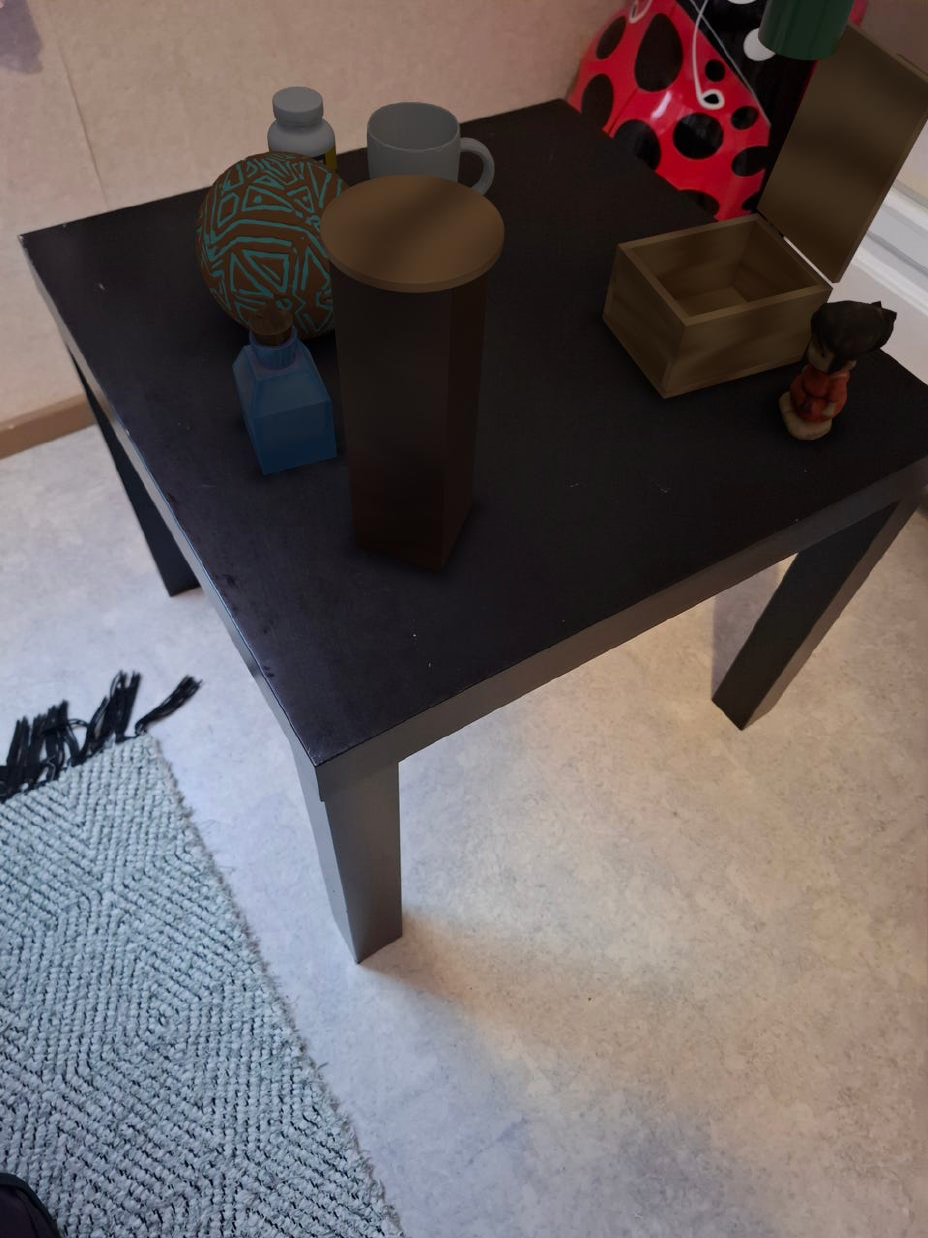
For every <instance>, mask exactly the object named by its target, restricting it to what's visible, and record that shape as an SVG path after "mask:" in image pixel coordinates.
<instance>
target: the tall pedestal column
mask: <svg viewBox="0 0 928 1238" xmlns="http://www.w3.org/2000/svg"><path fill="white" fill-rule="evenodd" d="M349 187H350V188H348V189H346V190H345V191H343V192H342V193H340V194H339V195H338V196H336V197H335V198H334V199H333V200H332V201H331V202H330V203H329V204H328V206H327V207H326V209H325V210H324V212H323V215H322V217H321V221H320V237H321V243H322V247H323V250H324V252H325V253H326V255H327V257H328V260H329V271H330V281H331V292H332V302H333V313H334V323H335V329H334V331H335V341H336V342H335V343H336V353H337V364H338V373H339V384H340V394H341V395H340V396H341V403H342V404H341V405H342V406H341V407H342V415H343V416H342V417H343V426H344V438H345V447H346V458H347V467H348V478H349V489H350V501H351V510H352V511H351V512H352V520H353V521H352V522H353V531H354V541H355V547H356V548H359V549H362V550H365V551H368V552H372V553H374V554H377V555H378V554H379V555H381V556H384V557H388V558H390V559H394V560H397V561H400V562H403V563H407V564H410V565H414V566H417V567H420V568H423V569H427V570H430V571H433V572H437V573H439V574H441V573H443V570H444V568H445V565H446V563H447V561H448V559H449V556H450V554H451V552H452V550H453V547H454V545H455V543H456V542H457V538H458V537H459V534H460V532H461V530H462V528H463V526H464V523H465V521H466V519H467V517H468V514H469V512H470V510H471V508H472V497H473V496H472V495H473V481H474V471H475V469H474V468H475V455H476V454H475V453H476V441H477V429H478V418H479V417H478V415H479V404H480V402H479V401H480V390H481V376H482V366H483V365H482V362H483V351H484V349H483V348H484V337H485V324H486V323H485V322H486V310H487V298H488V284H489V272H490V271H489V270H490V269H491V268H492V267H493V266H494V265H495V264H496V262H497V261H498V259H499V258H500V256H501V254H502V252H503V248H504V244H505V225H504V219H503V217H502V216H501V213H500V211H499V210H498V209H497V207H496V206H495V205H494V204H493V203H492V202H491V201H490V200H489V199H488V198H486V196H485V195H484V196H483V195H481V194H480V193H478V192H476V191H475V190H473V189H471V187H469V186H467V185H465V184H462V183H460V182H458V181H457V182H454V181H451V180H447V179H443V178H438V177H433V176H425V175H393V176H385V177H379V178H375V179H371V180H370V179H368V180H365V181H362V182H359V183H356V184H354V185H352V186H349Z"/></svg>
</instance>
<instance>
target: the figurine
mask: <svg viewBox="0 0 928 1238" xmlns="http://www.w3.org/2000/svg"><path fill="white" fill-rule="evenodd" d="M897 316H898V312H897V311H894V310H892V309H890V308H885V307H883V304H882V301H881V300H877V301H872V302H871V303H869V302H864V301H857V300H851V299H845V300H838V301H832V302H831V301H830V302H827V303H823V304H822V305H821V306H820V308H819V309H818V310H817V311H816V312H815V313H813V315H812V318H811V320H810V322H811V333H812V337H811V339H810V341H809V343H808V348H807V352H806V358H807V360H808V364H806V365H805V366H803V367H802V370H801V373H800V374H799V375H797V376H795V378H794V379H793V380H792V382H791V383H790V385H789V391H787V392H784V393H783V394H782V395H781V396H780V397H779V398H778V407H779V411H780V414H781V418H782V421H783V423H784V426H785V427H786V430H787V432H788V434H789V435H790V436H791V437H792V438H793V439H796V440H797V439H798V440H799V441H801V440H802V441H814V440H817V439H820V438H822V437H824V435H826V434H828V433H829V432H831V429H832V424H833V423H832V421H833V418H835V417H836V416H837V415H838V414H839V413H840V412H841V411H843V409H844V406H845V405H846V402H847V399H848V393H847V391H848V390H847V389H848V388H847V383H848V381H849V380H850V378H851V377H850V370H852V369H854V367H855V366H856V364H857V361H858V360H859V359H860V358H862V356H864V355H865V354H869V353H873V352H875V351H878V350H880V349H882V348H883V347H884V346H885V345H887V344H888V341H889V340H890V338H891V336H892V334H893V332H894V330H895V322H896V320H897Z"/></svg>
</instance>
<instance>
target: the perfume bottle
mask: <svg viewBox="0 0 928 1238" xmlns="http://www.w3.org/2000/svg"><path fill="white" fill-rule="evenodd" d="M292 321H293V320H292V316H291V314H290V313H289V312H288V311H286V310H285V309H282V308H279V307H264V308H261V309H258V310H256V311H255V312H253V313H252V314H251V316H250V317H249V320H248V323H249V326H250V329H251V330H249V333H248V338H249V344H248V345H244V346H243V347H242V348H241V351H240V352H239V353H238V356H237V357H236V359H235V360H234V362H233V363H232V365H231V367H232V372H233V376H234V382H235V386H236V391H237V396H238V399H239V403H240V408H241V413H242V416H243V421H244V426H245V428H246V431H247V434H248V436H249V439H250V442H251V444H252V447H253V450H254V453H255V455H256V458H257V461H258V463H259V466H260V469H261V472H262V474H263V476H266V475H269V474H273V473H278V472H281V471H287V470H290V469H294V468H297V467H302V466H306V465H309V464H314V463H318V462H321V461H325V460H329V459H333V458H338V454H337V453H338V452H337V444H336V433H335V425H334V417H333V416H334V415H333V406H332V399H331V397H330V395H329V392H328V390H327V388H326V386H325V384H324V381H323V378H322V377H321V374H320V371H319V370H318V368H317V365H316V364H315V361H314V358H313V356H312V354H311V352H310V350H309V348H308V347H307V346H306V345H305V343H303V342H302V340H299V339H298V338H297V334H296V329H295V328H294V327H293V325H292Z"/></svg>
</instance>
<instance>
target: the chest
mask: <svg viewBox="0 0 928 1238" xmlns="http://www.w3.org/2000/svg"><path fill="white" fill-rule="evenodd" d="M615 249H616V250H615V255H614V260H613V264H612V269H611V273H610V280H609V282H608V288H607V292H606V298H605V301H604V302H605V303H604V306H603V312H602V318H601V319H602V321H603V322H604V323H605V324H606V326H607V327H608V329H609V330H610V331H611V333H612V334H613V335H614V336H615V338H616V339H617V340H618V342H619V343H620V344H621V345H622V347H623V348H624V349H625V351H626V352H627V353H628V355H629V356H630V357H631V358H632V360H633V361H634V362H635V364H636V365H637V367H638V368H639V369H640V370H641V372H642V373H643V374H644V376H645V377H646V378H647V380H648V381H649V382H650V383H651V385H652V386H653V387H654V389H655V390H656V391H657V393H658V394H659V395H660V397H662V399H663V400H666V399H669V398H672V397H676V396H680V395H684V394H688V393H690V392H695V391H697V390H701V389H705V388H708V387H711V386H715V385H719V384H723V383H727V382H730V381H733V380H737V379H741V378H745V377H748V376H752V375H756V374H759V373H763V372H765V371H770V370H774V369H778V368H781V367H784V366H787V365H790V364H795V363H799V362H801V360H802V358H803V356H804V354H805V352H806V350H807V349H808V348H807V347H808V346H809V344H810V342H811V340H812V338H813V336H812V333H811V322H810V320H811V318H812V315H813V313H815V312H816V311H817V310H818V309H819V308H820V306H821V305H822V304H823V303H829V302H828V301H829V299H830V297H831V295H832V293H833V291H834V287H833V286H832V285H831V284H830V283H829V282H828V281H827V280H826V279H825V278H824V277H823V276H822V274H820V273H819V272H818V271H816V269H814V267H813V266H812V265H811V264H810V262H809V263H808V261H807V260H806V259H805V257H803V256H802V255H801V254H800V253H799V252H798V251H797V250H796V249H795V248H794V247H792V245H791V244H789V243H788V241H787V240H785V238H784V237H783V236H782V235H780V233H779V232H778V231H776V229H775V228H774V227H773V226H772V225H770V224H769V223H768V222H767V220H765V219H764V218H763V216H762V215H760V214H759V212H755V213H752V214H746V215H742V216H737V217H733V218H730V219H729V218H727V219H724V220H719V221H717V222H716V221H715V222H711V223H707V224H702V225H698V226H697V225H696V226H693V227H688V228H684V229H680V230H675V231H671V232H666V233H662V234H657V235H653V236H649V237H643V238H639V239H636V240H635V239H634V240H630V241H626V242H621V243H618V244H617V245H616V248H615Z"/></svg>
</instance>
